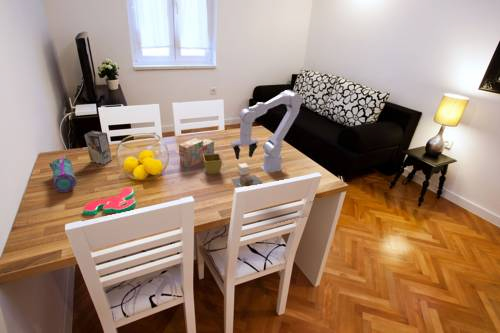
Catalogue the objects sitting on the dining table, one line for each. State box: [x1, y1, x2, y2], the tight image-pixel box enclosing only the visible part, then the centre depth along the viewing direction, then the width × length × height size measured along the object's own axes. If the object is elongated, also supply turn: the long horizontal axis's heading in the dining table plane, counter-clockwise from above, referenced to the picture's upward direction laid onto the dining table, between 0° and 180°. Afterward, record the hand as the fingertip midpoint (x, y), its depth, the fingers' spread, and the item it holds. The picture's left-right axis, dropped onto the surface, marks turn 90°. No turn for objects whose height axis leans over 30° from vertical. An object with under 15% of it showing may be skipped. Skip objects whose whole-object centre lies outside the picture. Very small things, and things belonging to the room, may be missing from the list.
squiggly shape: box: [82, 186, 137, 216], centre depth 119 cm, size 20×16×2 cm
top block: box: [237, 162, 250, 176], centre depth 149 cm, size 4×4×5 cm
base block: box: [239, 174, 254, 187], centre depth 138 cm, size 5×5×4 cm
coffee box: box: [84, 130, 113, 165], centre depth 148 cm, size 9×6×16 cm
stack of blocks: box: [178, 137, 215, 168], centre depth 158 cm, size 21×6×12 cm, turn 144°
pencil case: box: [49, 157, 78, 193], centre depth 129 cm, size 21×9×10 cm, turn 36°
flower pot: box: [203, 152, 223, 175], centre depth 147 cm, size 9×9×9 cm
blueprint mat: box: [230, 174, 264, 187], centre depth 140 cm, size 14×14×1 cm
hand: (243, 157), depth 145 cm, fingers open, 7 cm apart
